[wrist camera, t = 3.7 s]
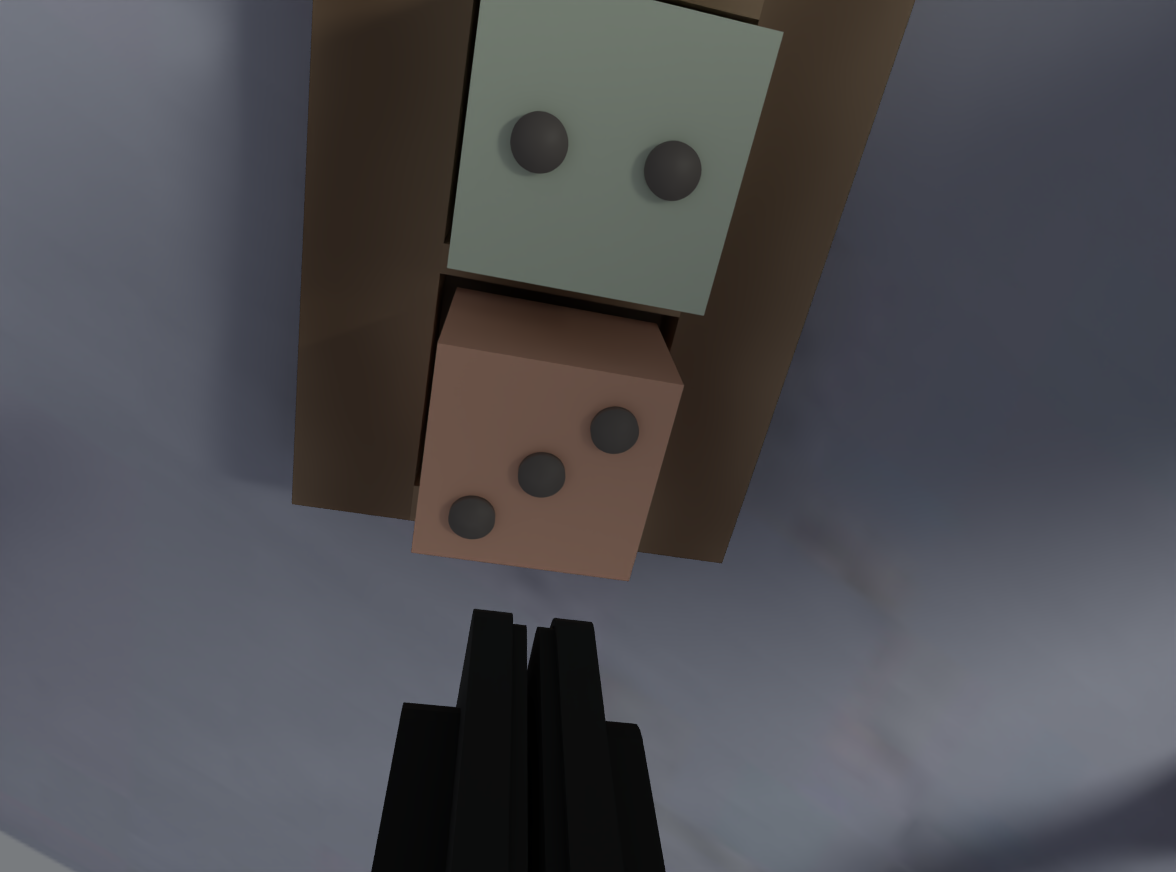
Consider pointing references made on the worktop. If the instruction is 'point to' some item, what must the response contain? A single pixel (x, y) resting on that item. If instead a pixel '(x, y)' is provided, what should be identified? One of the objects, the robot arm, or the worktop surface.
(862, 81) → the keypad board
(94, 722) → the worktop surface
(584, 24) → the two-pip tile
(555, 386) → the three-pip tile
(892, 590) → the worktop surface
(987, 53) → the worktop surface
